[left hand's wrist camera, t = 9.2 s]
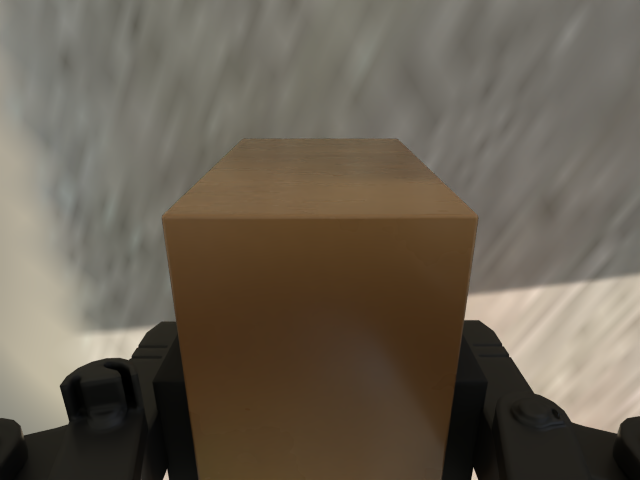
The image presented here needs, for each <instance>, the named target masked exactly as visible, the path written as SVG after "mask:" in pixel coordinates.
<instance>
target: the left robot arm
mask: <svg viewBox="0 0 640 480" xmlns="http://www.w3.org/2000/svg"><path fill="white" fill-rule="evenodd" d="M60 389H61V392H62V396H63V400H64V403H65V407H66V411H67V415H68V418H69V424H68V425H65V426H61V427H58V428H54V429H50V430H46V431H41V432H37V433H33V434H29V435H23V432H22V429H21V426H20V425H19V424H18V423H17V422H15V421H14V420H10V419H4V418H0V480H163V478H164V475H165V473H166V470H168V476H169V480H198V473H197V466H196V459H195V452H194V444H193V437H192V430H191V423H190V416H189V409H188V402H187V395H186V387H185V380H184V373H183V366H182V359H181V352H180V345H179V337H178V330H177V323H176V322H161V323H159V324H158V325H156V326H155V327H154V328H152V329H151V330H150V331H148V332H147V333H146V335H145V336H144V338H143V339H142V341H141V342H140V344H139V347H138V348H137V349H136V350H135V352H134V353H133V355H132V358H131V359H129V360H126V359H122V358H106V359H102V360H98V361H93V362H91V363H88V364H86V365H84V366H82V367H79V368H78V369H76V370H75V371H73V372H72V373H71V374H70V375H68V376H67V377H66V378H65V379H64V381H63V382H62V384H61V385H60ZM473 467H474V470H475V472H476V475H477V478H478V480H640V416H638V417H632V418H627V419H626V420H625V421H624V422H622V423H621V424H620V427H619V430H618V434H615V433H611V432H607V431H602V430H598V429H594V428H589V427H585V426H582V425H578V424H575V423H572V422H571V421H570V419H569V418H568V416H567V414H566V413H565V411H564V410H563V409H561V408H560V407H559V406H558V405H557V404H555V403H554V402H553V401H551V400H549V399H547V398H545V397H543V396H541V395H537V394H534V392H533V391H532V389H531V388H530V386H529V385H528V383H527V382H526V380H525V379H524V377H523V375H522V374H521V372H520V371H519V369H518V368H517V366H516V365H515V363H514V362H513V360H512V359H511V357H509V354H508V352H507V351H506V349H505V348H504V347H502V343H501V342H500V340H499V339H498V337H497V335H496V334H495V332H494V331H493V330H491V329H490V328H489V327H487V326H486V325H485V324H483V323H482V322H480V321H479V320H464V325H463V332H462V339H461V346H460V353H459V360H458V368H457V375H456V382H455V389H454V396H453V403H452V411H451V418H450V425H449V432H448V439H447V446H446V453H445V461H444V468H443V475H442V480H471V477H472V472H473Z"/></svg>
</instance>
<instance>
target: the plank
mask: <svg viewBox="0 0 640 480" xmlns="http://www.w3.org/2000/svg"><path fill="white" fill-rule="evenodd" d="M162 223H163V230H164V238H165V245H166V252H167V259H168V266H169V273H170V280H171V287H172V295H173V302H174V309H175V316H176V323H177V330H178V337H179V345H180V352H181V359H182V366H183V373H184V380H185V387H186V395H187V402H188V409H189V416H190V423H191V430H192V437H193V444H194V452H195V459H196V466H197V473H198V480H442V475H443V468H444V461H445V453H446V446H447V439H448V432H449V425H450V418H451V411H452V403H453V396H454V389H455V382H456V375H457V368H458V360H459V353H460V346H461V339H462V332H463V325H464V318H465V310H466V303H467V296H468V289H469V282H470V275H471V268H472V260H473V253H474V246H475V239H476V232H477V225H478V215H477V214H476V213H475V212H474V211H473V210H472V209H470V208H469V207H468V206H467V205H466V204H465V203H464V202H463V201H462V200H461V199H460V198H459V197H458V196H457V195H456V194H455V193H454V192H453V191H452V190H451V189H450V188H448V187H447V186H446V185H445V184H444V183H443V182H442V181H441V180H440V179H439V178H438V177H437V176H436V175H435V174H434V173H433V172H432V171H431V170H430V169H429V168H428V167H427V166H425V165H424V164H423V163H422V162H421V161H420V160H419V159H418V158H417V157H416V156H415V155H414V154H413V153H412V152H411V151H410V150H409V149H408V148H407V147H406V146H405V145H404V144H402V143H401V142H400V141H399V140H398V139H242V140H241V141H240V142H239V143H238V144H237V145H236V146H235V147H234V148H233V149H232V150H231V151H230V152H229V153H227V154H226V155H225V156H224V157H223V158H222V159H221V160H220V161H219V162H218V163H217V164H216V165H215V166H214V167H213V168H212V169H211V170H210V171H209V172H208V173H206V174H205V175H204V176H203V177H202V178H201V179H200V180H199V181H198V182H197V183H196V184H195V185H194V186H193V187H192V188H191V189H190V190H189V191H188V192H187V193H185V194H184V195H183V196H182V197H181V198H180V199H179V200H178V201H177V202H176V203H175V204H174V205H173V206H172V207H171V208H170V209H169V210H168V211H167V212H166V213H164V214H163V216H162Z"/></svg>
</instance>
